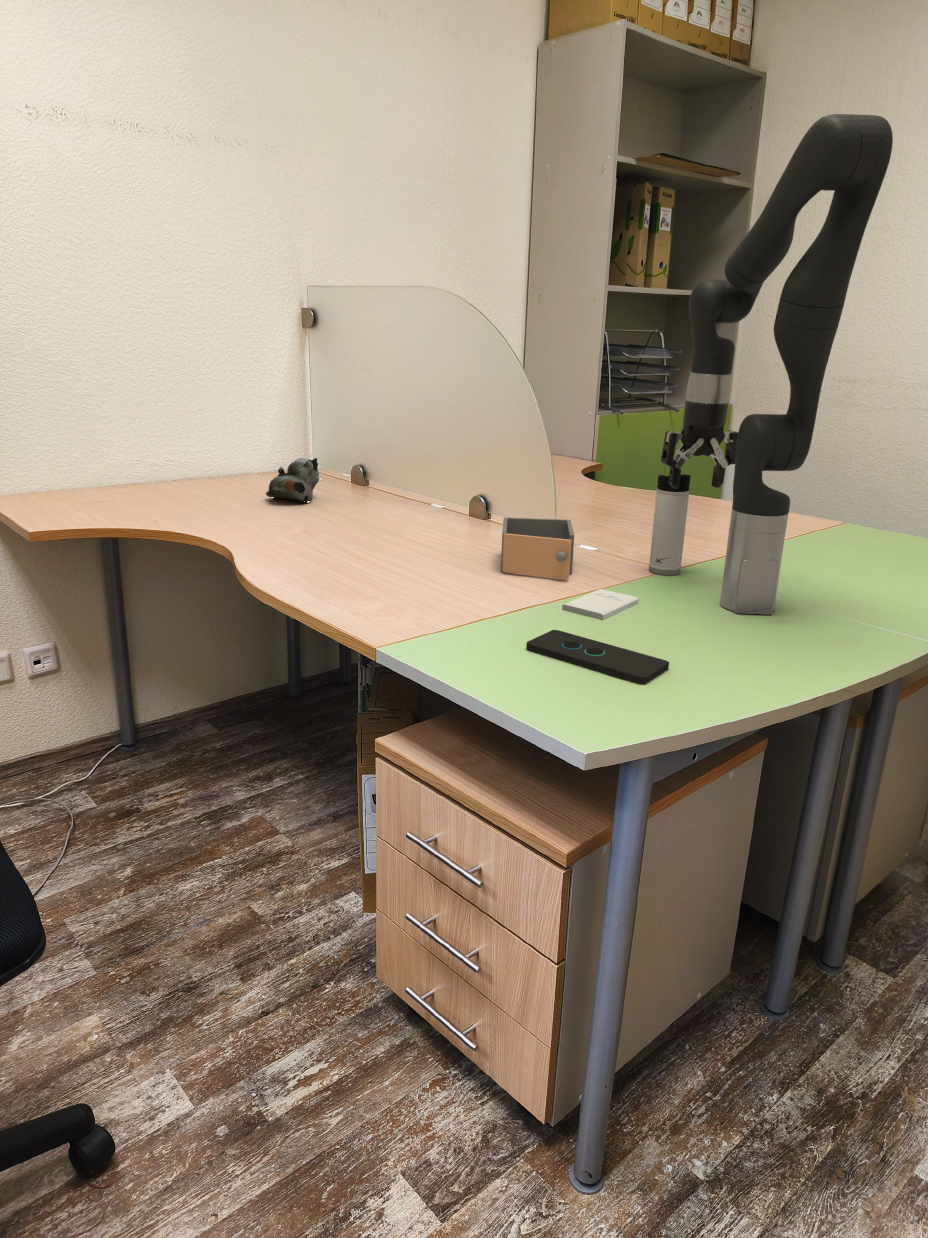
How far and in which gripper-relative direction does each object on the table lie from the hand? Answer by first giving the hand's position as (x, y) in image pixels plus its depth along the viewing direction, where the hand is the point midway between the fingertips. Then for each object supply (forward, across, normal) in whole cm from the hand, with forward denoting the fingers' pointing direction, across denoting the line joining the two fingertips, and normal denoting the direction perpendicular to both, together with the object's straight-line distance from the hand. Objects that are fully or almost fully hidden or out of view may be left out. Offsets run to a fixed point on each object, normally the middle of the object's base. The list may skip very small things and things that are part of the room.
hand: (695, 487), depth 156 cm
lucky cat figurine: (+23, -71, +88) cm, 115 cm away
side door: (+18, -29, +6) cm, 34 cm away
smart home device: (+17, -33, -36) cm, 52 cm away
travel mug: (+19, -1, +6) cm, 20 cm away
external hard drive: (+18, -22, -13) cm, 32 cm away
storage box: (+19, -25, +15) cm, 35 cm away
